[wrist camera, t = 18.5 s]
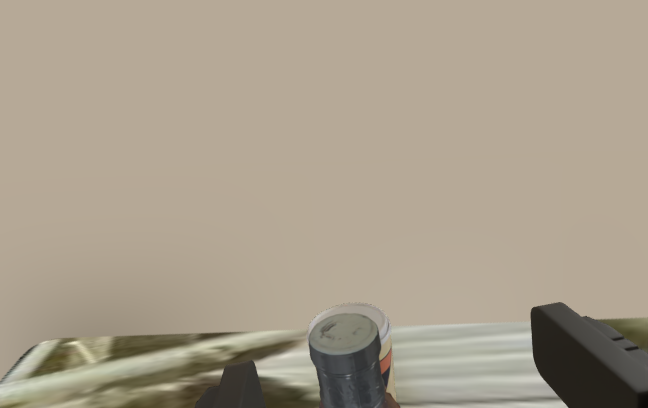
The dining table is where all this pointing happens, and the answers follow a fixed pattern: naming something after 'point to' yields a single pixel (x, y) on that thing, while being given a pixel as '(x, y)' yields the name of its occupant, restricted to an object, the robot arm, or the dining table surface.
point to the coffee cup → (384, 333)
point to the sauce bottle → (349, 362)
